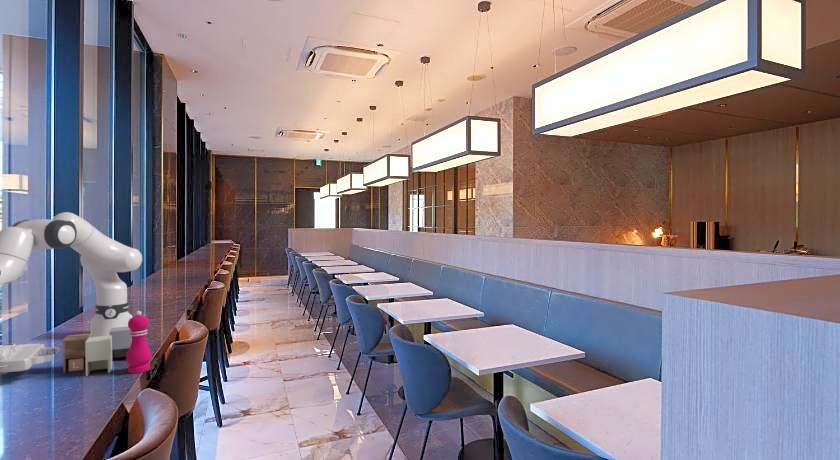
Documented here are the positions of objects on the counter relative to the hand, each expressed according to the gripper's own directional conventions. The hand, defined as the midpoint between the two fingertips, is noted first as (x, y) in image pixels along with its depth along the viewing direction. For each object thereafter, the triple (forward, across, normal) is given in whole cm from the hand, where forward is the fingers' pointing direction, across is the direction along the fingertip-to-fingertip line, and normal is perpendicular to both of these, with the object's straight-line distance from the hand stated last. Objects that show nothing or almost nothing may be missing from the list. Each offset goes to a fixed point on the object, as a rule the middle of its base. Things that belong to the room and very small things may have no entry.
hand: (55, 353), depth 150 cm
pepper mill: (+24, -12, +6) cm, 28 cm away
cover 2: (+18, +6, +6) cm, 20 cm away
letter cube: (+6, 0, +6) cm, 8 cm away
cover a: (+6, 0, +6) cm, 8 cm away
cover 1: (+13, -7, +6) cm, 16 cm away
